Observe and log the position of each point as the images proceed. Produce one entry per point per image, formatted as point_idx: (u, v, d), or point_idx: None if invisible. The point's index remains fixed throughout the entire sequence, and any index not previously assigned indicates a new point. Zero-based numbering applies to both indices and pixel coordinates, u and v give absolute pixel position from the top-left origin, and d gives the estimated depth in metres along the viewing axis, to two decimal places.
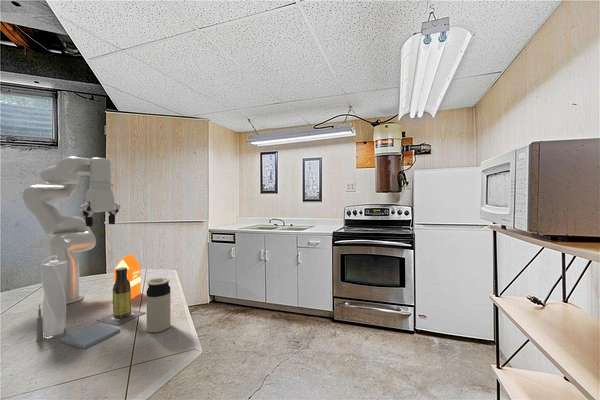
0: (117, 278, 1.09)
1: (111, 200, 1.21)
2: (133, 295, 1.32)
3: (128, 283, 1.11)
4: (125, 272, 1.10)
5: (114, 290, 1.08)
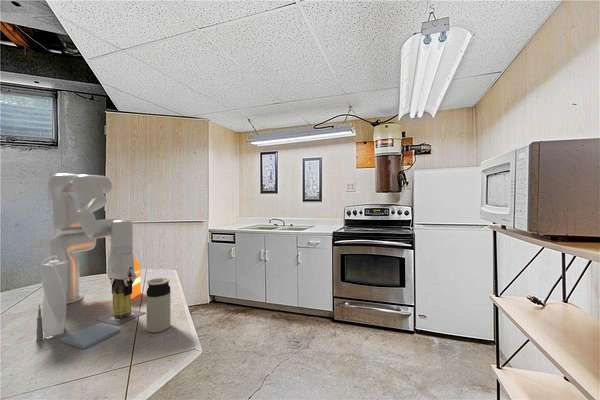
0: None
1: None
2: (133, 295, 1.32)
3: None
4: None
5: (114, 290, 1.08)
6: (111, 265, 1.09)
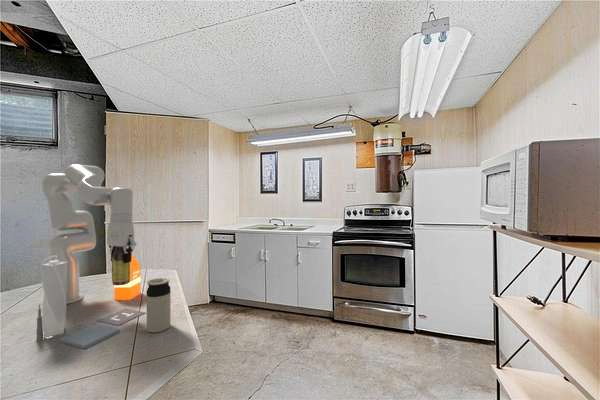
0: None
1: None
2: (133, 295, 1.32)
3: None
4: None
5: (113, 257, 1.08)
6: (110, 232, 1.09)
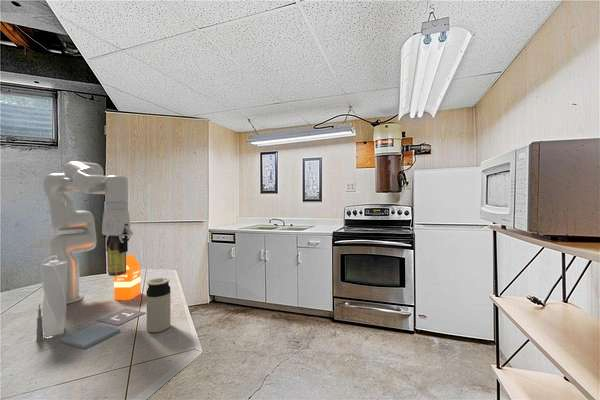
0: None
1: None
2: (133, 295, 1.32)
3: None
4: None
5: (108, 247, 1.05)
6: (106, 221, 1.06)
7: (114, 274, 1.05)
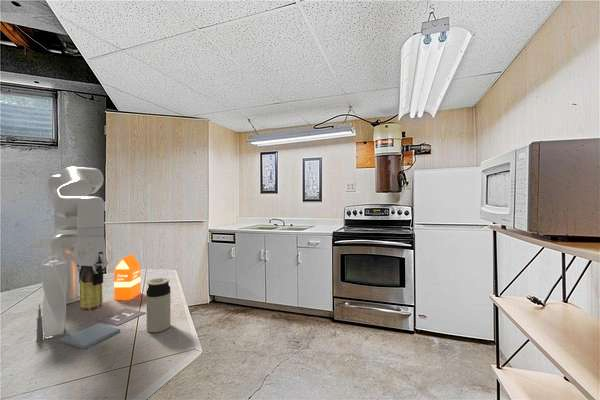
0: None
1: None
2: (133, 295, 1.32)
3: None
4: None
5: (80, 279, 0.92)
6: (78, 249, 0.93)
7: (87, 309, 0.92)
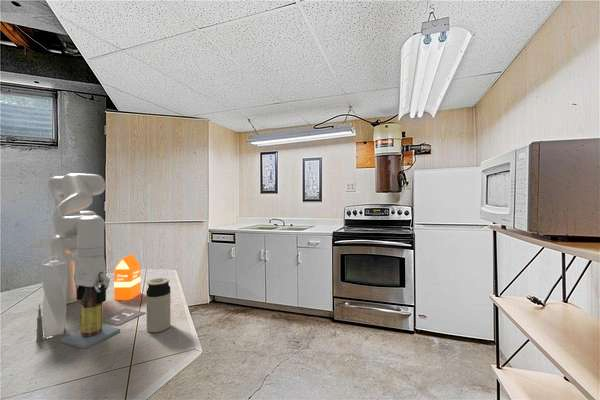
0: (86, 289, 0.93)
1: None
2: (133, 295, 1.32)
3: None
4: None
5: (81, 304, 0.92)
6: (78, 270, 0.93)
7: (87, 334, 0.93)
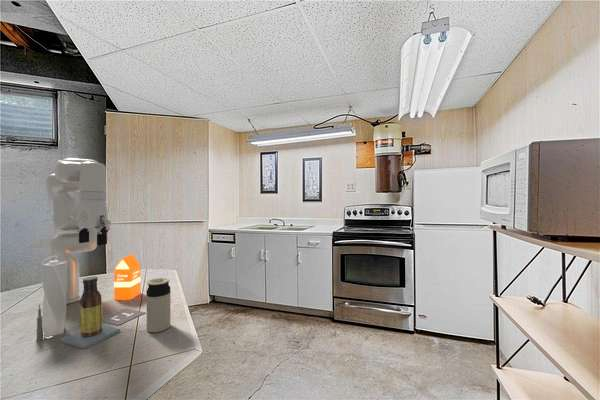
0: (85, 290, 0.93)
1: None
2: (133, 295, 1.32)
3: (98, 295, 0.95)
4: (94, 282, 0.94)
5: (80, 304, 0.92)
6: (80, 213, 0.96)
7: (87, 335, 0.93)
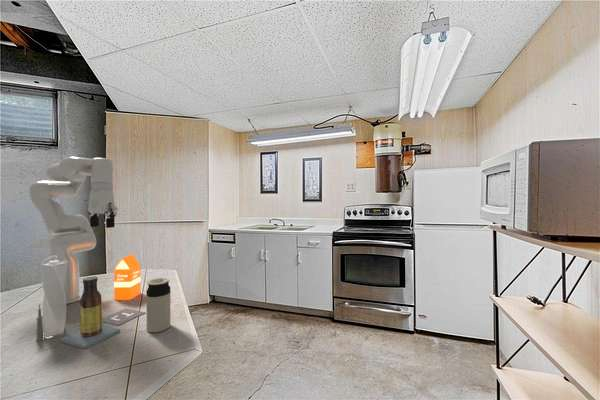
0: (85, 290, 0.93)
1: None
2: (133, 295, 1.32)
3: (98, 295, 0.95)
4: (94, 282, 0.94)
5: (80, 304, 0.92)
6: (91, 200, 1.14)
7: (87, 335, 0.93)
